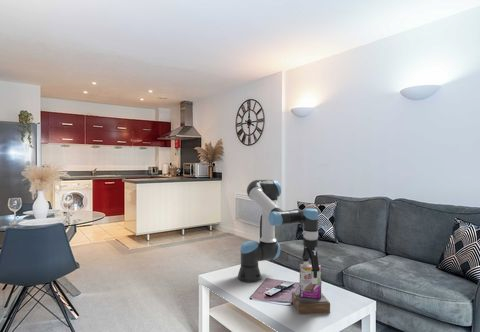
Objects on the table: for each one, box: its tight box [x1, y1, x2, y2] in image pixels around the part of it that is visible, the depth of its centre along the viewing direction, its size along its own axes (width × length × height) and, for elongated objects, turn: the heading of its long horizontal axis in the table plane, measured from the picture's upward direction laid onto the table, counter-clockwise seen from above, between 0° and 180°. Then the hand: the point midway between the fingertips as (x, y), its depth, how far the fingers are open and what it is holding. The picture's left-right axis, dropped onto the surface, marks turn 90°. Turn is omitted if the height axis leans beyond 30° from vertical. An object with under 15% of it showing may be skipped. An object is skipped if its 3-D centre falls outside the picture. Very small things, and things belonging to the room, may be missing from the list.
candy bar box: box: [298, 263, 322, 299], centre depth 158 cm, size 11×5×16 cm, turn 80°
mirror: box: [291, 291, 331, 315], centre depth 158 cm, size 14×16×6 cm
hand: (310, 278), depth 158 cm, fingers open, 13 cm apart
